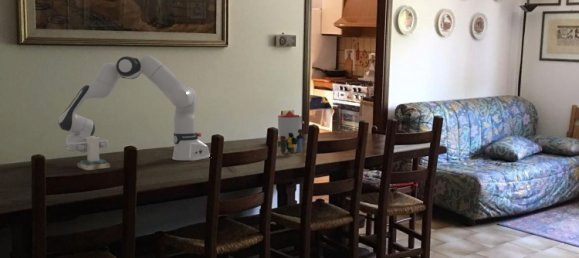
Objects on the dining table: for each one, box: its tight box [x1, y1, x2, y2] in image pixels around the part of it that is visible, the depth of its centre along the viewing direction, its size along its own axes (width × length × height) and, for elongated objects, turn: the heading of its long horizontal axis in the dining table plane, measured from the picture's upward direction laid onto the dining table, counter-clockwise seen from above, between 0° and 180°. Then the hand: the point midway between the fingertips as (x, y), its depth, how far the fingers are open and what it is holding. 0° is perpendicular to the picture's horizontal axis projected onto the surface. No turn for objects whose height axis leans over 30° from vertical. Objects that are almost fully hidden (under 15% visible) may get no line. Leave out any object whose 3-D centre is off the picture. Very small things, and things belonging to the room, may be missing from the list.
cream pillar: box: [86, 135, 100, 162], centre depth 303 cm, size 4×4×14 cm
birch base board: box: [76, 157, 111, 171], centre depth 304 cm, size 12×12×4 cm
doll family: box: [278, 128, 306, 157], centre depth 344 cm, size 23×9×13 cm, turn 160°
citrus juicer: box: [277, 110, 305, 142], centre depth 391 cm, size 16×17×20 cm
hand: (93, 146), depth 302 cm, fingers open, 8 cm apart
